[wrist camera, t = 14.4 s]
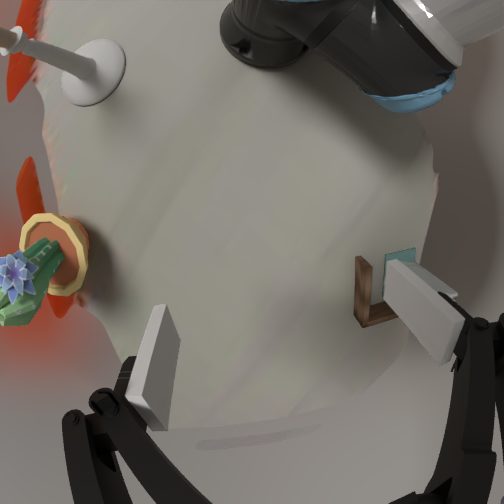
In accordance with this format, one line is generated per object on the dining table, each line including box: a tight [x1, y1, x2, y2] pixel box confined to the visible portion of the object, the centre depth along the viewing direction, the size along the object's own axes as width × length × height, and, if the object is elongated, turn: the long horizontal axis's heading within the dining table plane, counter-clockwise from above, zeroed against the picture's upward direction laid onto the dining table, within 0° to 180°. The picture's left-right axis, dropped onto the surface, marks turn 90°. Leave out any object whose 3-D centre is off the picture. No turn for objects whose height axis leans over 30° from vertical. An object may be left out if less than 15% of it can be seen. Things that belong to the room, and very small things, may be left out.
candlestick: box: [0, 26, 125, 106], centre depth 19 cm, size 13×13×30 cm
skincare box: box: [383, 261, 458, 301], centre depth 46 cm, size 8×6×15 cm
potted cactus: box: [0, 213, 90, 326], centre depth 33 cm, size 15×16×25 cm
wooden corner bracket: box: [354, 256, 399, 328], centre depth 52 cm, size 14×16×5 cm
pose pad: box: [382, 248, 416, 296], centre depth 53 cm, size 10×8×1 cm
